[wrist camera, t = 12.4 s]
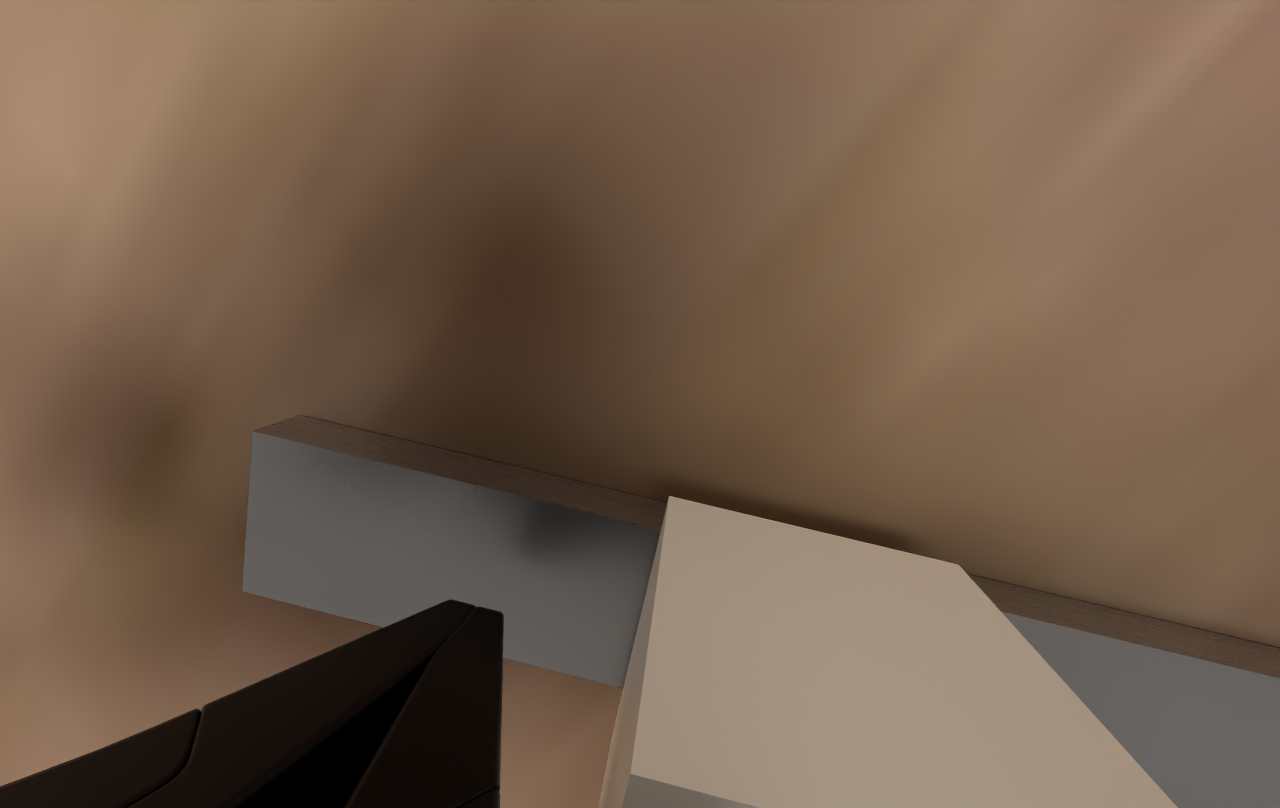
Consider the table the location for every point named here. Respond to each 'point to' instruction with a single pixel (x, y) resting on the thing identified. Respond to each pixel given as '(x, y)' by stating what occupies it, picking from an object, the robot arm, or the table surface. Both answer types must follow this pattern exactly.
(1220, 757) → the rail
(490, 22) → the table surface
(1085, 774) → the white rectangular block
